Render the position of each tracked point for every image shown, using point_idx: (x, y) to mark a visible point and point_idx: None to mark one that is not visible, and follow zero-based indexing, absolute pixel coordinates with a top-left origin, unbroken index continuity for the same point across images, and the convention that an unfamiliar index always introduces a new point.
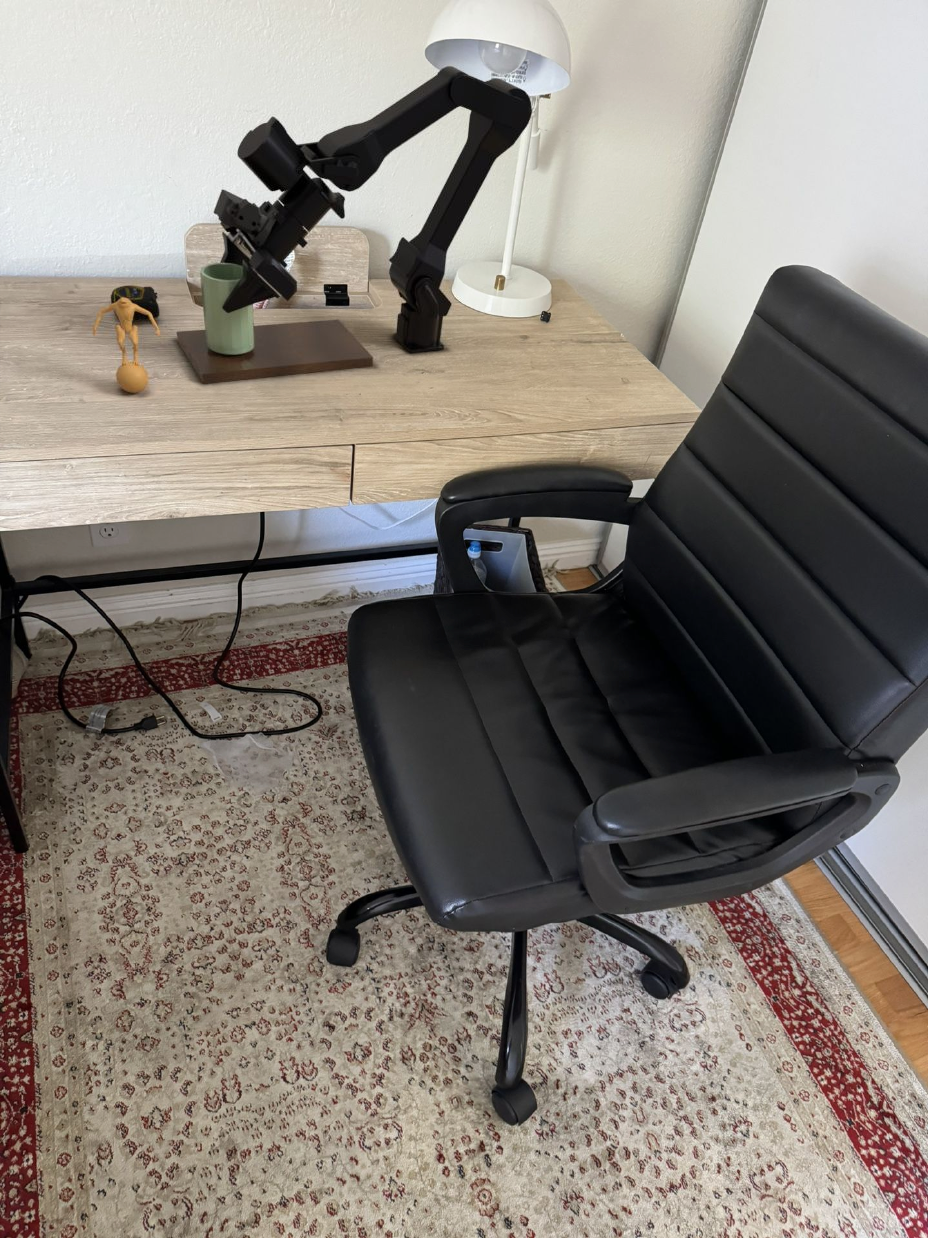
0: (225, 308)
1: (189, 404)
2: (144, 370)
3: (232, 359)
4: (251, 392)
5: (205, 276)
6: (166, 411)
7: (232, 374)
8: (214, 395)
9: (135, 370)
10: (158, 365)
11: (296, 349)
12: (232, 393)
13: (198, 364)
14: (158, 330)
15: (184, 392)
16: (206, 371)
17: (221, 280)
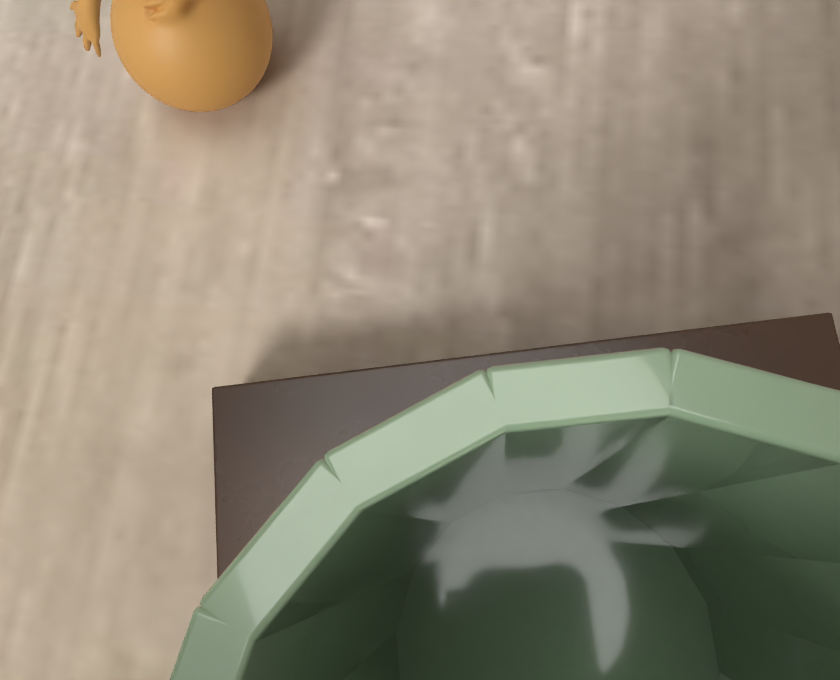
0: None
1: (42, 300)
2: (157, 63)
3: None
4: (85, 651)
5: (410, 407)
6: (7, 194)
7: None
8: (100, 436)
9: (119, 10)
10: (480, 198)
11: None
12: (98, 537)
13: (331, 382)
14: (80, 12)
15: (163, 292)
16: (238, 415)
17: (190, 676)
